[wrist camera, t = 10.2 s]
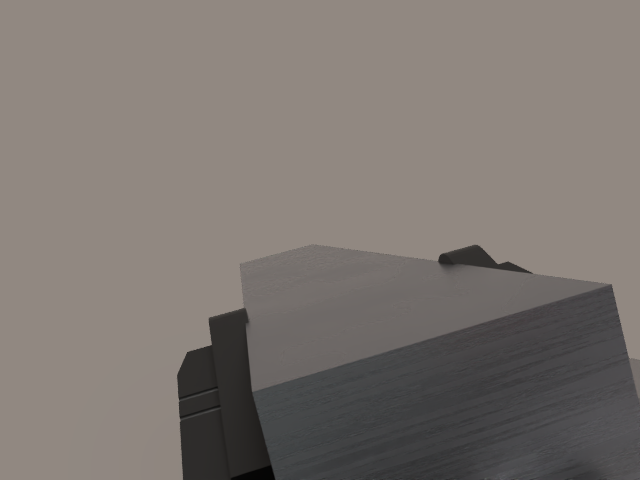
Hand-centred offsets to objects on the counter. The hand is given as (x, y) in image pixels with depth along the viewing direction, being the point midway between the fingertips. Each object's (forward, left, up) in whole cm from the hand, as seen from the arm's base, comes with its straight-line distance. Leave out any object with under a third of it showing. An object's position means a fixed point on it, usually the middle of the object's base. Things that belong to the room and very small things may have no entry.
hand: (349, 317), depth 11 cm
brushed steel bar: (0, -7, -3) cm, 7 cm away
